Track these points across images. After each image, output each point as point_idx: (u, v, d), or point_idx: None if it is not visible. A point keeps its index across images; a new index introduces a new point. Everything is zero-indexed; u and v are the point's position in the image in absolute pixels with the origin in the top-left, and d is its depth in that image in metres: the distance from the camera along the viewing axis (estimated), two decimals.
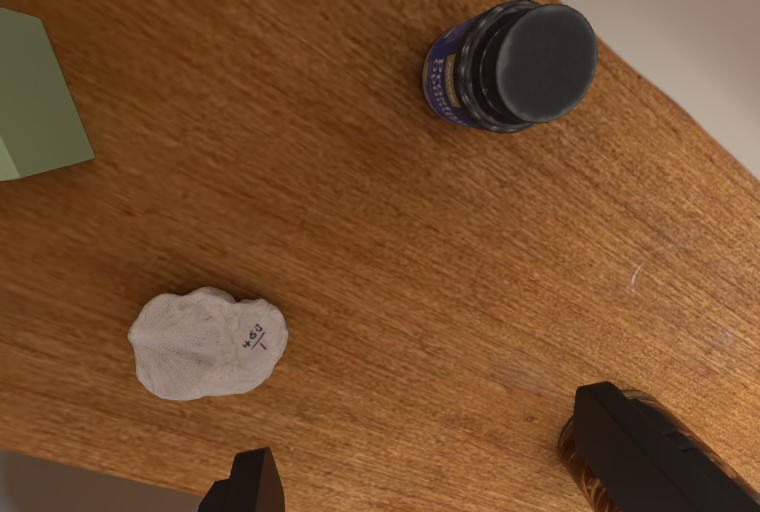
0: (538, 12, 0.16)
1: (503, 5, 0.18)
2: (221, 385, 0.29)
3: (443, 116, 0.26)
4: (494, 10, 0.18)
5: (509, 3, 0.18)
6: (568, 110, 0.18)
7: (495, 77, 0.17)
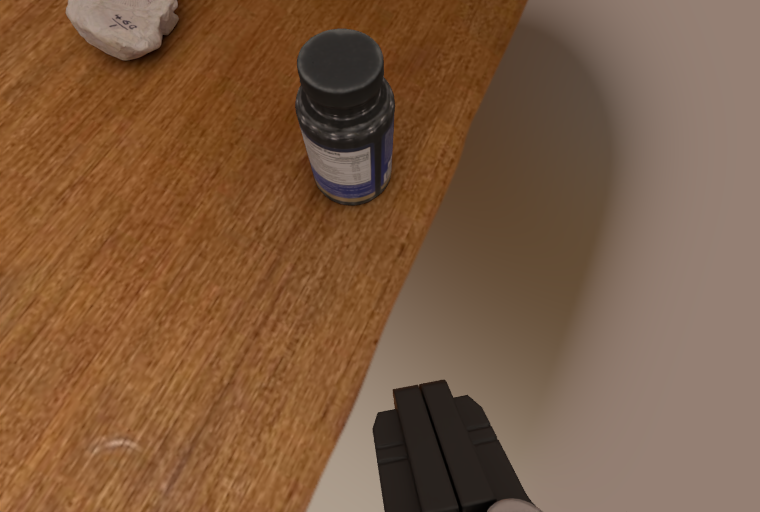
0: (374, 45, 0.21)
1: (386, 81, 0.24)
2: None
3: None
4: None
5: (388, 84, 0.24)
6: (308, 80, 0.20)
7: (328, 30, 0.22)
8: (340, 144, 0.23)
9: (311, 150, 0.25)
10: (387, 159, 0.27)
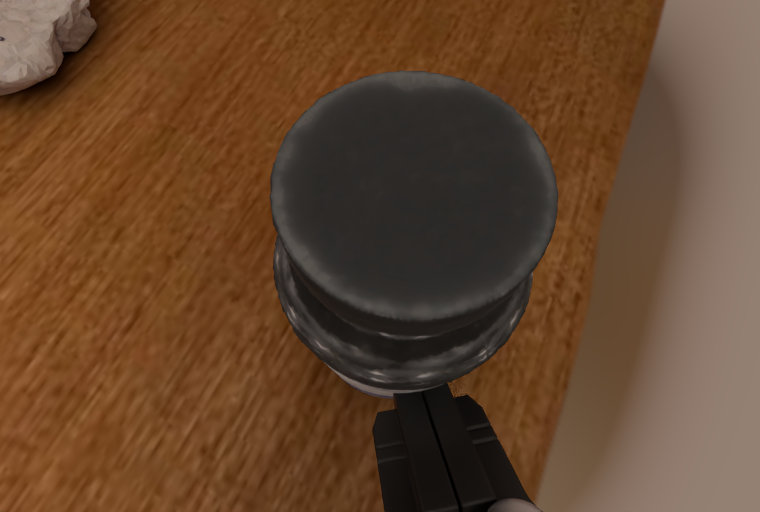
0: (522, 129, 0.07)
1: None
2: None
3: None
4: None
5: None
6: (307, 264, 0.06)
7: (372, 76, 0.07)
8: (394, 388, 0.08)
9: None
10: None
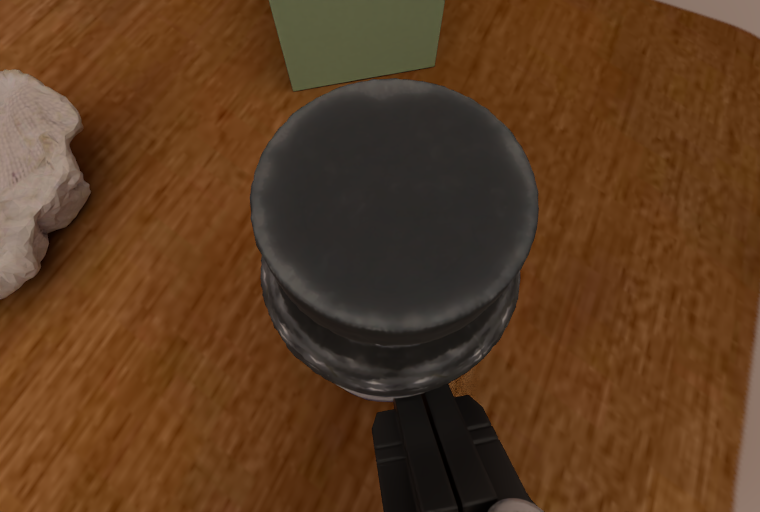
0: (497, 129, 0.07)
1: None
2: None
3: None
4: None
5: None
6: (294, 284, 0.06)
7: (344, 86, 0.07)
8: (392, 395, 0.08)
9: None
10: None
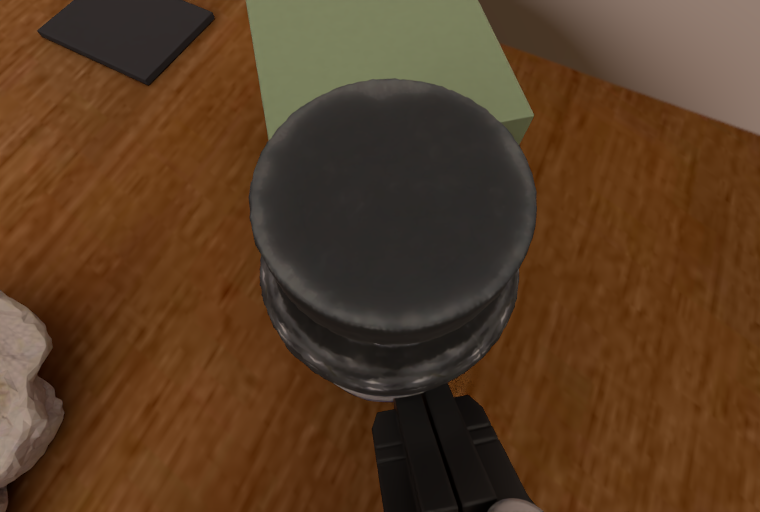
0: (496, 129, 0.07)
1: None
2: None
3: None
4: None
5: None
6: (292, 283, 0.06)
7: (343, 86, 0.07)
8: (391, 395, 0.08)
9: None
10: None
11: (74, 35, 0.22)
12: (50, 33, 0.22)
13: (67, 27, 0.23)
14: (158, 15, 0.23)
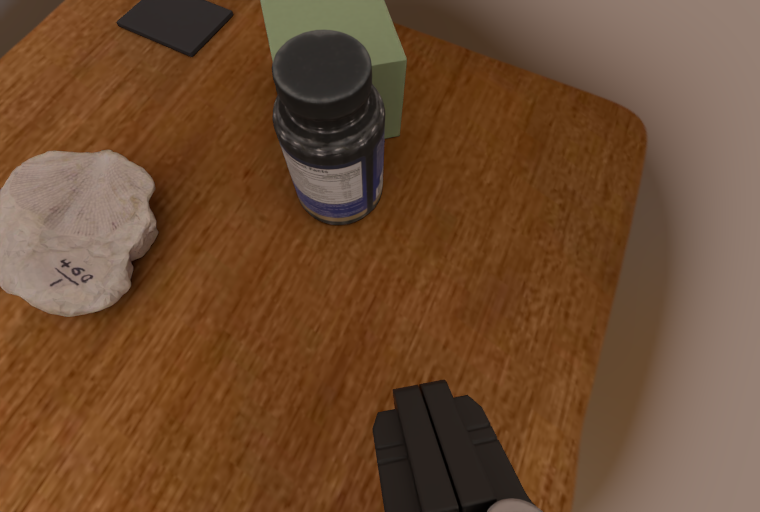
0: (360, 46, 0.19)
1: None
2: (8, 230, 0.22)
3: None
4: None
5: (376, 89, 0.21)
6: (287, 90, 0.18)
7: (305, 32, 0.19)
8: (327, 161, 0.20)
9: (294, 168, 0.22)
10: (379, 172, 0.24)
11: (141, 25, 0.34)
12: (125, 23, 0.34)
13: (136, 20, 0.34)
14: (196, 13, 0.35)
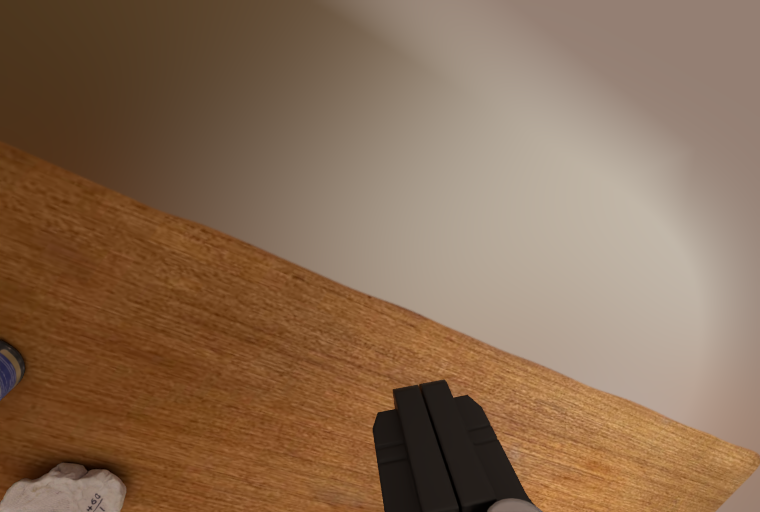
0: None
1: None
2: None
3: None
4: None
5: None
6: None
7: None
8: None
9: None
10: None
11: None
12: None
13: None
14: None
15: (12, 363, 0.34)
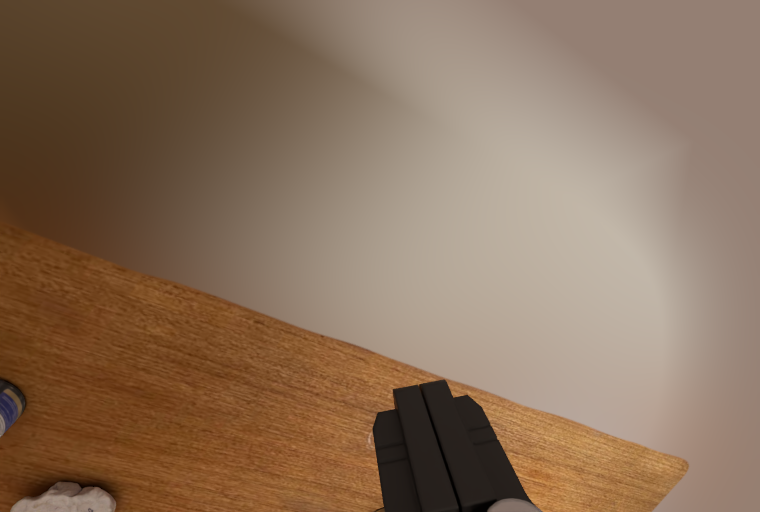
0: None
1: None
2: None
3: None
4: None
5: None
6: None
7: None
8: None
9: None
10: None
11: None
12: None
13: None
14: None
15: (14, 400, 0.40)
